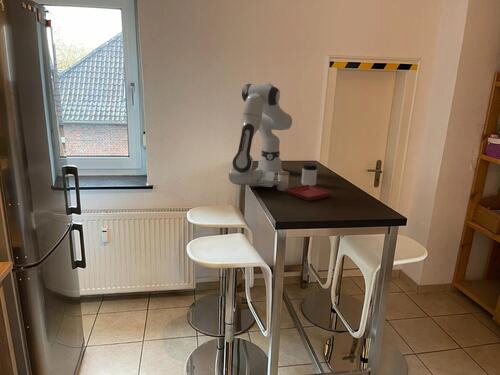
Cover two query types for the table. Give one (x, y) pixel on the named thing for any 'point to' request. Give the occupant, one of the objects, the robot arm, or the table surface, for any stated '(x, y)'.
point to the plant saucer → (308, 192)
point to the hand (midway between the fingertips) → (282, 180)
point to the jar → (309, 174)
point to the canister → (283, 180)
